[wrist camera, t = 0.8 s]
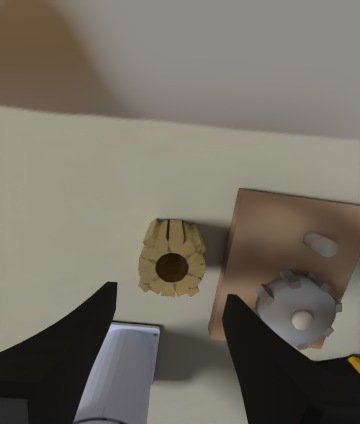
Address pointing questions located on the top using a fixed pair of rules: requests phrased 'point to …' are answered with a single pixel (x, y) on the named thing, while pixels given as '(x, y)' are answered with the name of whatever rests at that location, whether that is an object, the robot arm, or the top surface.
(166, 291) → the wooden gear
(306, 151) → the top surface
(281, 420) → the robot arm
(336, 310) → the gear board
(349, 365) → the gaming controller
